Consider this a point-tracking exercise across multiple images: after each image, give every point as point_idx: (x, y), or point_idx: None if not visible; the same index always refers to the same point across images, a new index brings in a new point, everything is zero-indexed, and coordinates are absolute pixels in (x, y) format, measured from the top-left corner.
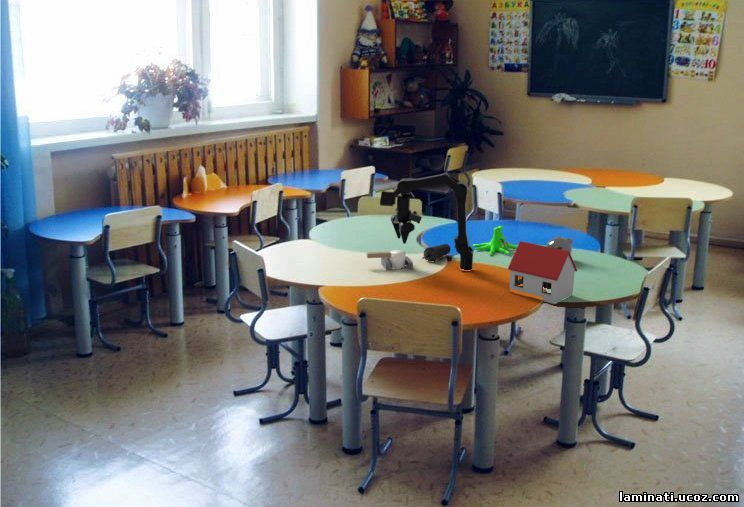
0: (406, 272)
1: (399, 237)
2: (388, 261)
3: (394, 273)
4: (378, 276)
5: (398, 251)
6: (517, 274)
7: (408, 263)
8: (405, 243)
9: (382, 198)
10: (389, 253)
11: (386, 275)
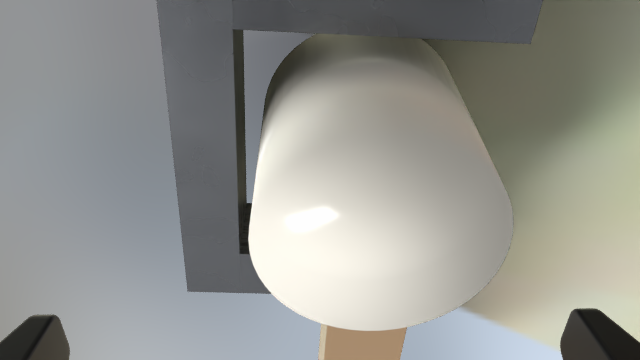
0: (618, 71)
1: (52, 344)
2: None
3: (588, 199)
4: None
5: (344, 225)
6: None
7: (520, 38)
8: (592, 310)
9: None
10: (401, 338)
11: (612, 274)
